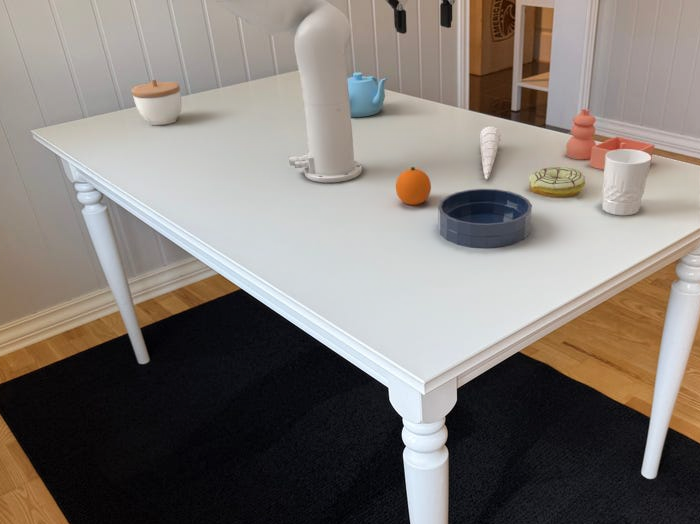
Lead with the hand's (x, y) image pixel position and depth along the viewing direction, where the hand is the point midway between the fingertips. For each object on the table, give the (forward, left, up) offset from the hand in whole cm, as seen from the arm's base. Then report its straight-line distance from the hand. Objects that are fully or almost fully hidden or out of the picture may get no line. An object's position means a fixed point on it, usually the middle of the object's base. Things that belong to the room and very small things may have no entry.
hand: (423, 29), depth 131 cm
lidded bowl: (-66, +56, -28) cm, 91 cm away
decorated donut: (+24, -16, -28) cm, 41 cm away
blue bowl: (+6, -32, -28) cm, 43 cm away
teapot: (-12, +51, -28) cm, 60 cm away
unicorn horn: (+15, +4, -28) cm, 32 cm away
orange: (-5, -17, -28) cm, 33 cm away
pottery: (+39, -1, -28) cm, 48 cm away
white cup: (+33, -27, -28) cm, 51 cm away
